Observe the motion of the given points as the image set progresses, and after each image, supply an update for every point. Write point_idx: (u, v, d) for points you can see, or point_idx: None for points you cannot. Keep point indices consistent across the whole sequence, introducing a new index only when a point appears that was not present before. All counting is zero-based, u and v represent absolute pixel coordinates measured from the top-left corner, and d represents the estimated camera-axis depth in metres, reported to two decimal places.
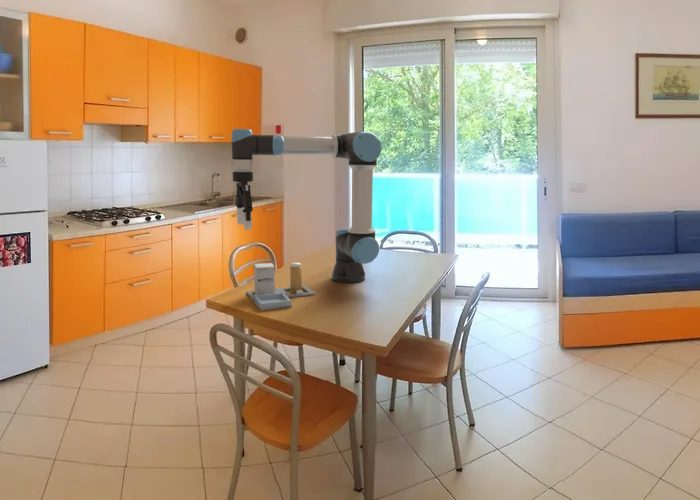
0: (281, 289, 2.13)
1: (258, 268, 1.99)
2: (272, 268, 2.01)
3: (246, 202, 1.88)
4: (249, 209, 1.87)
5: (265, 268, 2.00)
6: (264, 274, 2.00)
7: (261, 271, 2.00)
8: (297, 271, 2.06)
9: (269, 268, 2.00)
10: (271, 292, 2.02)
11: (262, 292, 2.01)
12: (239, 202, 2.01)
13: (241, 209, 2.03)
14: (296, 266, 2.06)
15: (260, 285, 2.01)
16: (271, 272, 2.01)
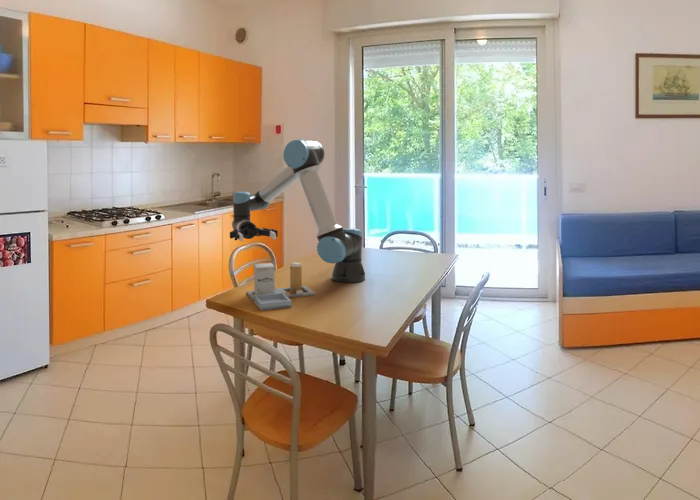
0: (281, 289, 2.13)
1: (258, 268, 1.99)
2: (272, 268, 2.01)
3: None
4: (230, 235, 2.12)
5: (265, 268, 2.00)
6: (264, 274, 2.00)
7: (261, 271, 2.00)
8: (296, 271, 2.06)
9: (269, 268, 2.00)
10: (271, 292, 2.02)
11: (262, 292, 2.01)
12: (266, 234, 2.20)
13: (270, 233, 2.17)
14: (296, 266, 2.06)
15: (260, 285, 2.01)
16: (271, 272, 2.01)
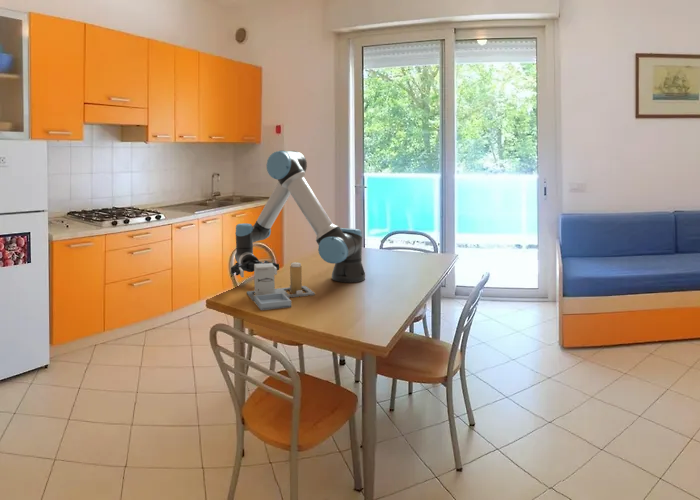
0: (281, 289, 2.13)
1: (258, 268, 1.99)
2: (272, 268, 2.01)
3: None
4: (231, 270, 2.12)
5: (265, 268, 2.00)
6: (264, 274, 2.00)
7: (261, 271, 2.00)
8: (297, 271, 2.06)
9: (269, 268, 2.00)
10: (271, 292, 2.02)
11: (262, 292, 2.01)
12: None
13: None
14: (296, 266, 2.06)
15: (260, 285, 2.01)
16: (271, 272, 2.01)
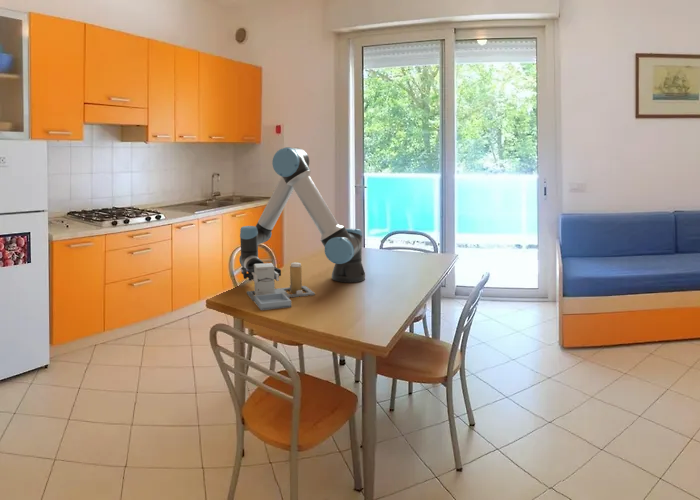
0: (281, 289, 2.13)
1: (258, 268, 1.99)
2: (272, 268, 2.01)
3: (243, 275, 2.06)
4: (243, 275, 2.04)
5: (265, 268, 2.00)
6: (264, 274, 2.00)
7: (261, 271, 2.00)
8: (297, 271, 2.06)
9: (269, 268, 2.00)
10: (271, 292, 2.02)
11: (262, 292, 2.01)
12: None
13: None
14: (296, 266, 2.06)
15: (260, 285, 2.01)
16: (271, 272, 2.01)
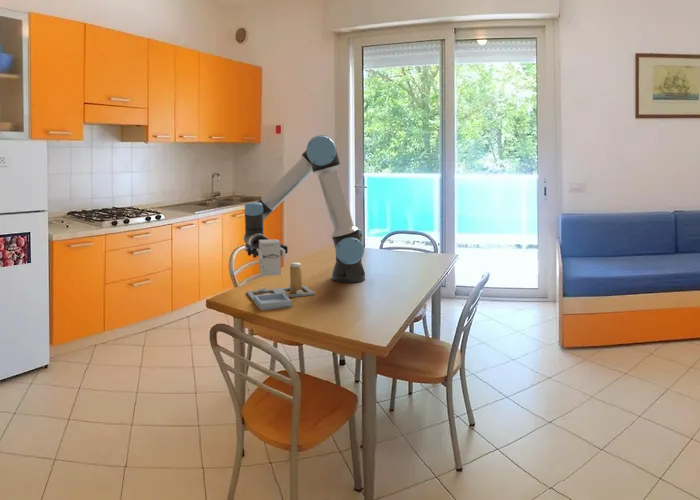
0: (281, 289, 2.13)
1: (263, 243, 1.86)
2: (278, 244, 1.88)
3: None
4: (248, 251, 1.91)
5: (270, 244, 1.87)
6: (269, 250, 1.87)
7: (266, 247, 1.87)
8: (297, 271, 2.06)
9: (275, 244, 1.87)
10: (277, 269, 1.89)
11: (267, 269, 1.88)
12: None
13: None
14: (296, 266, 2.06)
15: (265, 262, 1.88)
16: (277, 248, 1.88)
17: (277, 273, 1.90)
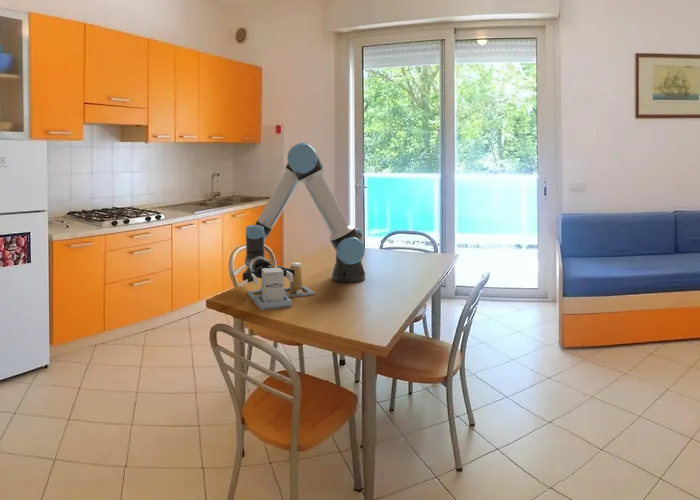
0: None
1: (266, 273, 1.88)
2: (281, 273, 1.89)
3: None
4: None
5: (274, 273, 1.88)
6: (273, 280, 1.89)
7: (269, 276, 1.88)
8: (297, 271, 2.06)
9: (278, 273, 1.89)
10: (280, 298, 1.91)
11: (270, 298, 1.90)
12: None
13: (286, 273, 1.97)
14: (296, 266, 2.06)
15: (268, 291, 1.89)
16: (280, 277, 1.89)
17: None
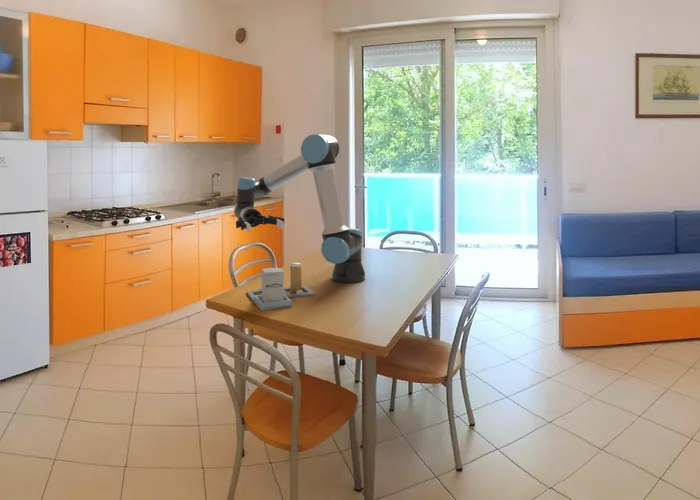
0: None
1: (266, 273, 1.88)
2: (281, 273, 1.89)
3: None
4: (236, 224, 2.05)
5: (274, 273, 1.88)
6: (273, 280, 1.89)
7: (269, 276, 1.88)
8: (297, 271, 2.06)
9: (278, 273, 1.89)
10: (280, 298, 1.91)
11: (270, 298, 1.90)
12: (272, 222, 2.13)
13: (277, 221, 2.11)
14: (296, 266, 2.06)
15: (268, 291, 1.89)
16: (280, 277, 1.89)
17: None
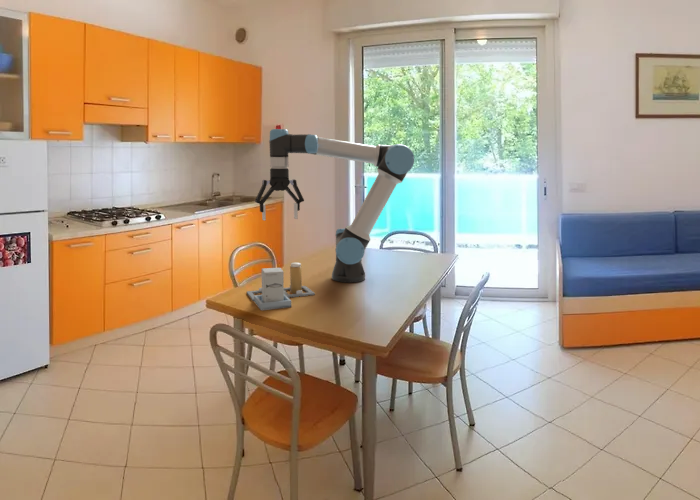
0: None
1: (266, 273, 1.88)
2: (281, 273, 1.89)
3: (257, 195, 2.10)
4: (255, 201, 2.09)
5: (274, 273, 1.88)
6: (273, 280, 1.89)
7: (269, 276, 1.88)
8: (297, 271, 2.06)
9: (278, 273, 1.89)
10: (280, 298, 1.91)
11: (270, 298, 1.90)
12: (292, 197, 2.16)
13: (295, 204, 2.16)
14: (296, 266, 2.06)
15: (268, 291, 1.89)
16: (280, 277, 1.89)
17: None
